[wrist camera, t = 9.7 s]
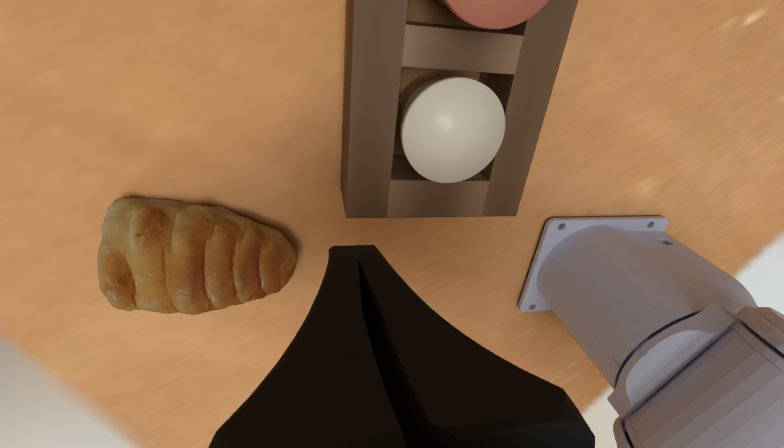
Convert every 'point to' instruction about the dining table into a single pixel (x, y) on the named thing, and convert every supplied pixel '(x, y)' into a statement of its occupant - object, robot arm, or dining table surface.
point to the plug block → (451, 52)
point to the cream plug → (449, 126)
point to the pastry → (188, 257)
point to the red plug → (494, 11)
